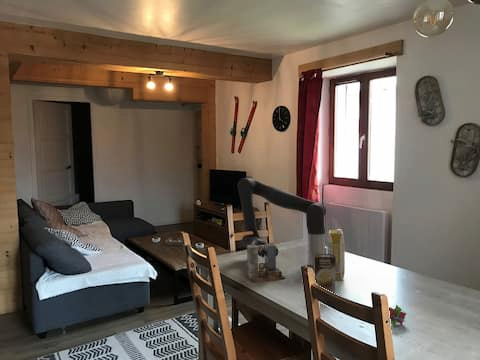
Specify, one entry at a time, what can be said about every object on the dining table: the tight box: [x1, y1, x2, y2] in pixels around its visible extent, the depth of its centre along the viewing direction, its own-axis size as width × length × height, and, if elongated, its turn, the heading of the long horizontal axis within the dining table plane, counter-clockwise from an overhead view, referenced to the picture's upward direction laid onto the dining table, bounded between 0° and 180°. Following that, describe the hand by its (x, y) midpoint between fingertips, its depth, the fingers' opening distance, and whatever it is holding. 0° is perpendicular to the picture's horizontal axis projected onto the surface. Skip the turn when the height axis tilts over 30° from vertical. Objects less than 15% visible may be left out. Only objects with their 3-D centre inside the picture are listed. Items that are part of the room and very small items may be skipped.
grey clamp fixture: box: [258, 242, 277, 276], centre depth 198 cm, size 8×5×15 cm, turn 105°
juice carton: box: [326, 228, 346, 282], centre depth 193 cm, size 9×8×24 cm
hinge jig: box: [244, 245, 286, 283], centre depth 198 cm, size 17×13×16 cm
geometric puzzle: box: [389, 304, 407, 328], centre depth 142 cm, size 7×7×8 cm
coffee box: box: [312, 253, 336, 294], centre depth 177 cm, size 9×6×16 cm
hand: (269, 254), depth 199 cm, fingers open, 6 cm apart
